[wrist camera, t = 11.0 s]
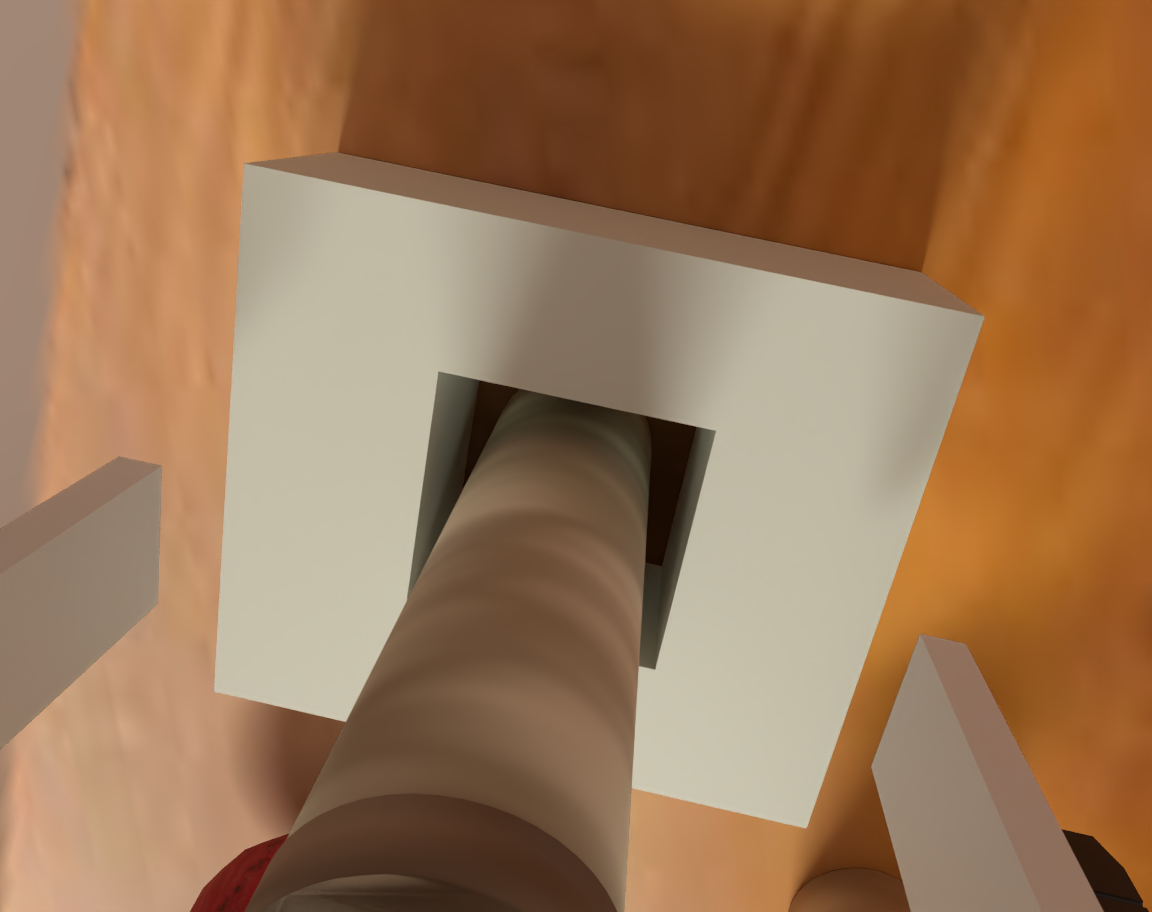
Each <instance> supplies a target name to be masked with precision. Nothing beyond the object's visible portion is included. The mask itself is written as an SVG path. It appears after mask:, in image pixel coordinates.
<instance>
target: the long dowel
mask: <svg viewBox="0 0 1152 912" xmlns="http://www.w3.org/2000/svg"><path fill="white" fill-rule="evenodd" d="M651 452H652V440H651V432H650V428H649V425H648V422H647V419H646V417H645V415H640V414H635V413H631V412H626V411H621V410H617V409H612V408H607V407H603V406H598V405H593V404H589V403H584V402H579V401H575V400H570V399H565V398H561V397H556V396H551V395H547V394H542V393H537V392H533V391H528V390H523V389H519V390H518V391H517V392H516V393H515V394H514V395H513V396H512V397H511V399H510V400H509V401H508V403H507V404H506V406H505V408H504V410H503V411H502V413H501V415H500V417H499V419H498V421H497V423H496V425H495V427H494V429H493V431H492V433H491V435H490V437H489V439H488V441H487V443H486V445H485V447H484V449H483V451H482V453H481V455H480V457H479V459H478V461H477V463H476V465H475V467H474V469H473V471H472V473H471V475H470V477H469V479H468V481H467V483H466V485H465V487H464V489H463V491H462V493H461V495H460V497H459V499H458V501H457V503H456V504H455V506H454V508H453V510H452V512H451V514H450V516H449V518H448V520H447V522H446V524H445V526H444V528H443V530H442V532H441V534H440V536H439V538H438V540H437V542H436V544H435V546H434V548H433V550H432V552H431V554H430V556H429V558H428V560H427V562H426V564H425V566H424V568H423V570H422V572H421V574H420V576H419V578H418V580H417V582H416V584H415V586H414V588H413V590H412V592H411V594H410V596H409V598H408V600H407V602H406V604H405V606H404V607H403V609H402V611H401V613H400V615H399V617H398V619H397V621H396V623H395V625H394V627H393V629H392V631H391V633H390V635H389V637H388V639H387V641H386V643H385V645H384V647H383V649H382V651H381V653H380V655H379V657H378V659H377V661H376V663H375V665H374V667H373V669H372V671H371V673H370V675H369V677H368V679H367V681H366V683H365V685H364V687H363V689H362V691H361V693H360V695H359V697H358V699H357V701H356V703H355V705H354V707H353V709H352V711H351V712H350V714H349V716H348V718H347V720H346V722H345V724H344V726H343V728H342V730H341V732H340V734H339V736H338V738H337V740H336V742H335V744H334V746H333V748H332V750H331V752H330V754H329V756H328V758H327V760H326V762H325V764H324V766H323V768H322V770H321V772H320V774H319V776H318V778H317V780H316V782H315V784H314V786H313V788H312V790H311V792H310V794H309V796H308V798H307V800H306V802H305V804H304V806H303V808H302V810H301V812H300V814H299V815H298V817H297V819H296V821H295V823H294V825H293V827H292V829H291V831H290V833H289V835H288V837H287V839H286V841H285V842H284V843H283V845H282V846H281V847H280V848H279V849H278V850H277V852H276V853H275V855H274V856H273V858H272V860H271V862H270V863H269V865H268V867H267V869H266V871H265V872H264V874H263V876H262V878H261V880H260V882H259V884H258V886H257V888H256V890H255V892H254V894H253V896H252V898H251V900H250V902H249V904H248V906H247V908H246V910H245V912H624V908H625V892H626V875H627V858H628V841H629V824H630V807H631V790H632V773H633V756H634V739H635V723H636V706H637V689H638V672H639V655H640V638H641V621H642V604H643V587H644V570H645V554H646V537H647V520H648V503H649V486H650V469H651Z"/></svg>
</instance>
